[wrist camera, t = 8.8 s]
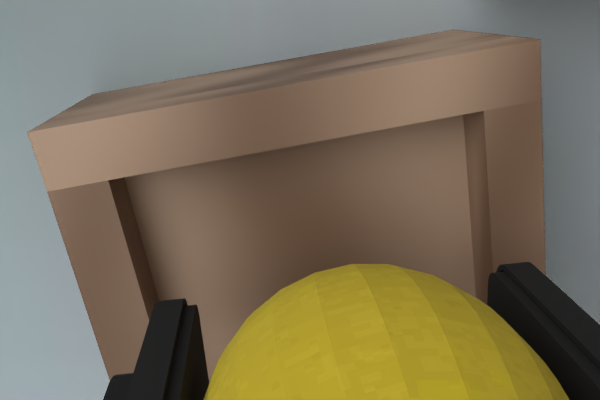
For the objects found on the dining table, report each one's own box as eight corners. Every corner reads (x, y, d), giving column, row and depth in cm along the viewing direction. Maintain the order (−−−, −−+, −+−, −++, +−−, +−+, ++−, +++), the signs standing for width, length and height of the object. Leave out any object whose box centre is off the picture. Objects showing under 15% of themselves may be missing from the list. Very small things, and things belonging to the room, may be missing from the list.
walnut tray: (449, 29, 16) (540, 39, 11) (471, 332, 19) (549, 443, 14) (94, 93, 16) (27, 132, 11) (179, 391, 19) (157, 524, 14)
